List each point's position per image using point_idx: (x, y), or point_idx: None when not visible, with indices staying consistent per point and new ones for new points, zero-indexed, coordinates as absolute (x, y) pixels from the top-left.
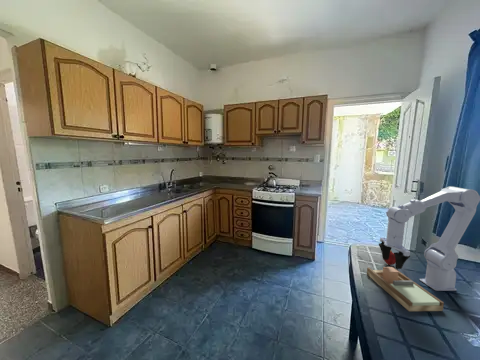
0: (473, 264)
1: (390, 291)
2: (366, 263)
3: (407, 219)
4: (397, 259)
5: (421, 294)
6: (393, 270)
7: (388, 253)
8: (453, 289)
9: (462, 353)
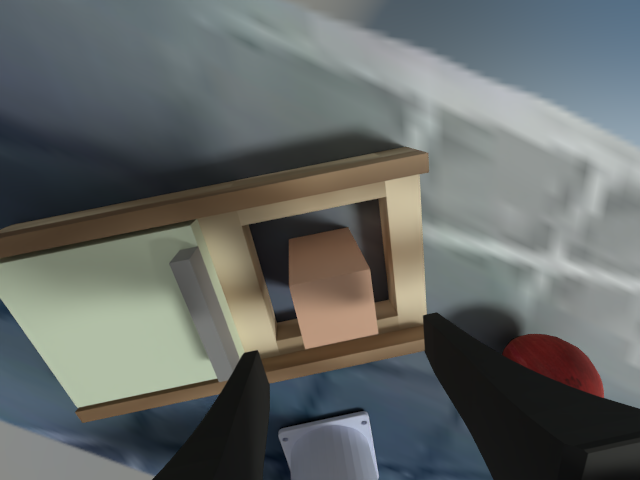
0: None
1: (155, 201)
2: (547, 213)
3: None
4: (178, 457)
5: (124, 359)
6: (321, 323)
7: (465, 410)
8: None
9: None
